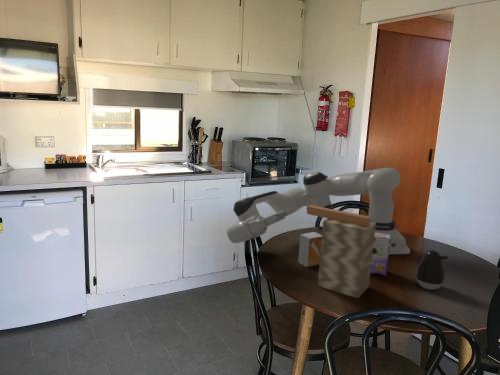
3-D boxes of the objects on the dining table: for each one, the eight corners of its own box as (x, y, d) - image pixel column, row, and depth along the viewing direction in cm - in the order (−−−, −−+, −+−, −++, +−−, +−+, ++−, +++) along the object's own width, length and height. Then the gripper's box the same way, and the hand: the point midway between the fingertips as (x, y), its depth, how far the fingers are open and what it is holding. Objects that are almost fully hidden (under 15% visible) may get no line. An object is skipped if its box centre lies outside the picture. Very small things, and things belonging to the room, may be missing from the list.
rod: (306, 213, 165) (307, 206, 164) (310, 212, 168) (310, 205, 167) (366, 226, 152) (367, 218, 152) (369, 224, 155) (370, 216, 154)
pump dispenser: (437, 295, 159) (443, 257, 155) (410, 286, 165) (415, 249, 162) (447, 287, 166) (452, 251, 163) (420, 279, 173) (425, 243, 169)
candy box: (386, 270, 180) (391, 234, 176) (386, 276, 174) (391, 238, 171) (353, 265, 184) (357, 229, 180) (352, 270, 178) (356, 233, 175)
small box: (307, 267, 179) (309, 238, 176) (297, 262, 184) (299, 234, 181) (321, 264, 183) (324, 235, 181) (311, 259, 189) (314, 231, 186)
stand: (317, 285, 162) (323, 221, 157) (330, 275, 172) (335, 214, 166) (358, 298, 154) (365, 230, 148) (368, 286, 164) (376, 222, 158)
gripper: (272, 226, 191) (296, 217, 183) (246, 238, 174) (272, 228, 166) (266, 213, 192) (291, 203, 184) (241, 224, 175) (266, 213, 167)
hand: (282, 215), depth 175 cm, fingers open, 8 cm apart
